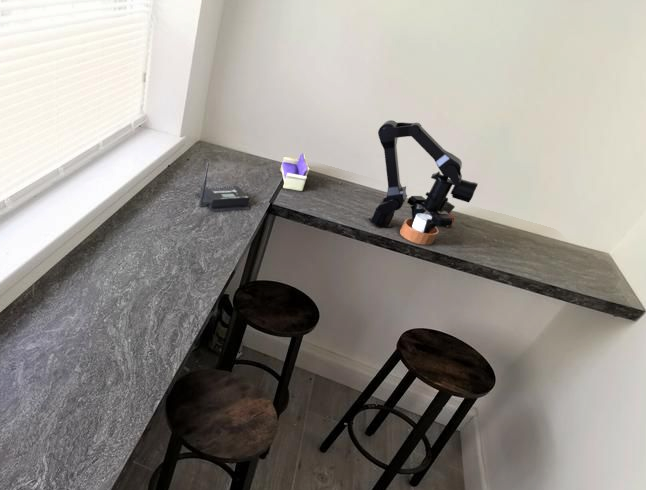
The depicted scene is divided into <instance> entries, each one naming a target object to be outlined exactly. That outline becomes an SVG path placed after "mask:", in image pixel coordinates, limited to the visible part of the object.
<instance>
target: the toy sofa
mask: <svg viewBox="0 0 646 490" xmlns="http://www.w3.org/2000/svg"><path fill="white" fill-rule="evenodd" d="M309 171H310V167H309V165H308V162H307V159H306V153H301V154H300V155H299V158H293V157H289V156H283V159H282V162H281V165H280V169H279V172H281V173H282V174H281V175H282V180H283V185H282V188H283V189H287V190H292V191H293V190H294V191H299V192H302V191H303V190H304V187H305V184H306V180H307V179H308V177H307V176H308V173H309Z"/></svg>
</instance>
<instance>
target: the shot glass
mask: <svg viewBox="0 0 646 490" xmlns="http://www.w3.org/2000/svg"><path fill="white" fill-rule="evenodd" d="M427 219H432V215H431V214H427V213H425V212H424V213H418V214H416V217H415V220H414V222H413V225H412V227H411V228H413V229H414V230H417V231H419V232H424V228H425V225H426V222H427Z"/></svg>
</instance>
